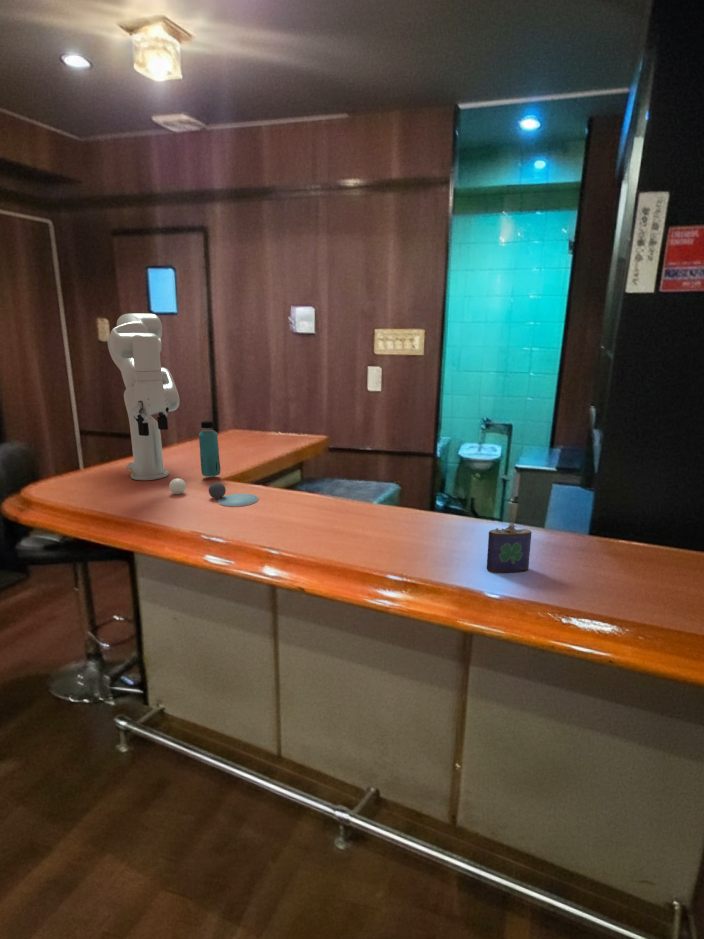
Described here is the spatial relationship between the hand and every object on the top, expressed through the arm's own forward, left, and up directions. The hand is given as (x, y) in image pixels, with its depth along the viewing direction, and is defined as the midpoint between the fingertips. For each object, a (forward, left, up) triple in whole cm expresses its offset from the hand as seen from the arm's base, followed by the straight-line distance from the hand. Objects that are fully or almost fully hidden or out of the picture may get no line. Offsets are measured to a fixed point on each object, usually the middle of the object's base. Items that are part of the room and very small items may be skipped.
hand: (153, 432), depth 166 cm
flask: (+108, -26, -19) cm, 113 cm away
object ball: (+22, -1, -16) cm, 27 cm away
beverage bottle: (+8, +18, -19) cm, 27 cm away
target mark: (+29, -1, -19) cm, 34 cm away
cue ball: (+8, -1, -16) cm, 18 cm away
